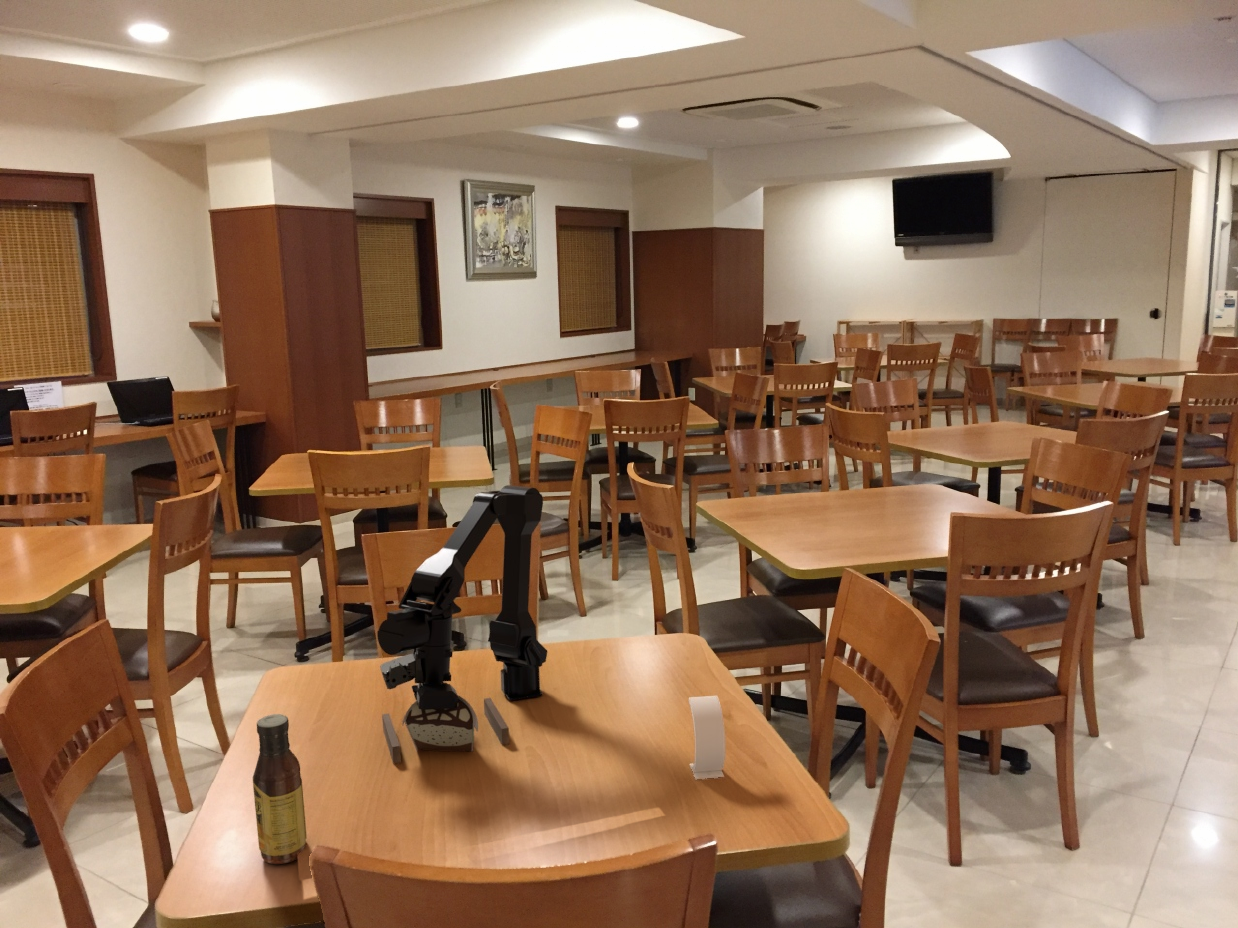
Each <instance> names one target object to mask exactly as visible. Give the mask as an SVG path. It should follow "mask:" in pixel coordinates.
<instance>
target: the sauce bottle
mask: <svg viewBox="0 0 1238 928" xmlns="http://www.w3.org/2000/svg"><path fill="white" fill-rule="evenodd" d="M256 733H257V735H258V742H259V750H258V751H259V754H258V758H257V761H256V766H255V768H254V772H253V775H252V787H253V797H254V809H255V819H256V820H255V821H256V831H257V840H258V849H259V850H260V856H261V859H263V861H264V862H265V863H267V864H272V865H273V864H274V865H280V864H281V865H283V864H287V863H291V862H294V861H296V860H298V854H299V853H301V851H303V850H304V849H305V848H306V846H307V825H306V812H305V801H304V789H303V779H302V776H301V775H302V774H301V765H300V761H299V759H298V758H297V756H296V754H294V753H293V752H292V750H291V749H290V747H291V744H290V741H289V740H290V739H289V717H288V716H287V715H284V714H280V713H277V714H275V713H274V714H268V715H266V716H263V717H261V718H259V719H258V720H257V722H256Z"/></svg>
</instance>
